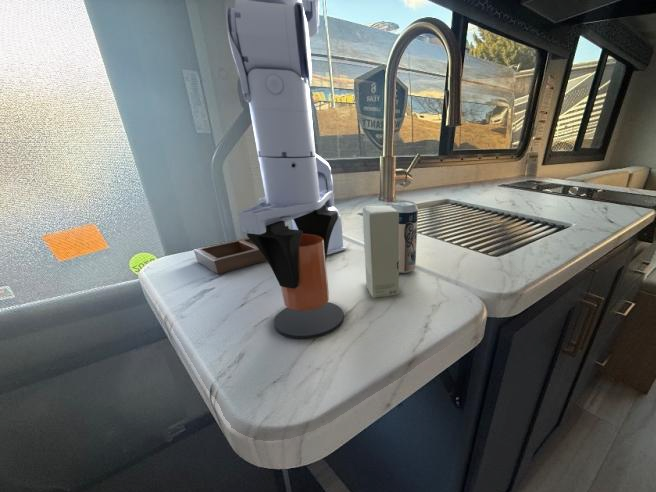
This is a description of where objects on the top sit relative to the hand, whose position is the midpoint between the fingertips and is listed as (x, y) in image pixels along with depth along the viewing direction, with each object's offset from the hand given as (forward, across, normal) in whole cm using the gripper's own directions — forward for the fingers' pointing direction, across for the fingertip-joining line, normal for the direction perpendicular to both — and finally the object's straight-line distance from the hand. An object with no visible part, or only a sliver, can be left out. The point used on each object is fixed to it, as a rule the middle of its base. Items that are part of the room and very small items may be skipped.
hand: (304, 276), depth 39 cm
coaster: (+6, 0, 0) cm, 6 cm away
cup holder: (+6, -18, -24) cm, 31 cm away
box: (+7, -12, +6) cm, 15 cm away
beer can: (+7, -21, +6) cm, 23 cm away
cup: (+3, 0, 0) cm, 3 cm away
